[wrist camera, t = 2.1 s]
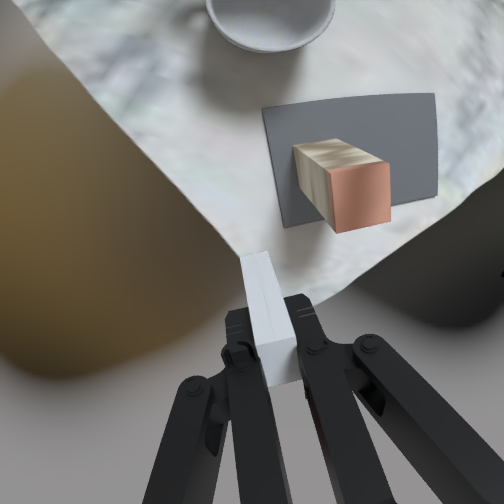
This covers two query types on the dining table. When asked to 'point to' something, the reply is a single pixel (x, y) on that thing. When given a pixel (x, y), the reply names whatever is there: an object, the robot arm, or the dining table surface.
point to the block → (344, 184)
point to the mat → (357, 143)
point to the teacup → (270, 22)
